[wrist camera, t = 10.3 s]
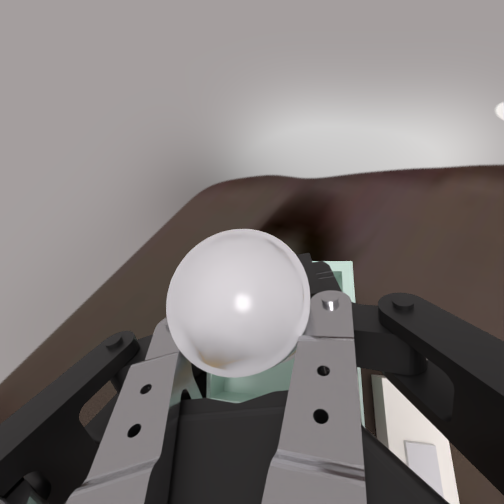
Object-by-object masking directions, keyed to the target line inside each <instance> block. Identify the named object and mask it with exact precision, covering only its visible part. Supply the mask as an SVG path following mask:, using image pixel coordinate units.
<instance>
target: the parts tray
mask: <svg viewBox="0 0 504 504" xmlns="http://www.w3.org/2000/svg"><path fill="white" fill-rule="evenodd" d="M312 262H318V261H312ZM323 262H325V263H327V264H328V265H329V266H330V268H331V270H332V272H333V274H334V277H335V278H336V280H337V282H338V284H339V286H340V289H341V291H342V292H343V293H345V294H347V295H348V296H349V297H350V299H351V302H354V303H355V291H354V278H353V265H352V261H323ZM294 359H295V358H293V359H291V360H289V361H287V362H283V363H280V364H278V365H277V366H274V367H272V368H270V369H268V370H265V371H263V372H260V373H258V374H254V375H251V376H246V377H238V378H233V377H222V376H217V375H214V374H211V399H215V400H221V401H226V402H232V403H241V402H244V401H247V400H250V399H253V398H256V397H259V396H262V395H265V394H268V393H271V392H274V391H284V390H289V386H290V381H291V375H292V370H293V364H294ZM357 371H358V383H359V395H360V407H361V419H362V426H364V427H365V422H364V409H363V396H362V383H361V370H360V367H357Z"/></svg>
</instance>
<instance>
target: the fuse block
mask: <svg viewBox="0 0 504 504" xmlns="http://www.w3.org/2000/svg"><path fill="white" fill-rule="evenodd" d="M371 378H372V389H373V400H374V411H375V423H376V434H377V439H378V440H379V441H380V442H381V443H383V444H384V445H385V446H386V447H387V448H388V449H389V450H390V451H391V452H393V453H394V454H395V455H396V456H397V457H398V458H399V459H400V460H401V461H403V462H404V463H405V464H406V465H407V466H408V467H409V468H410V469H412V470H413V471H414V472H415V473H416V474H417V475H418V476H419V477H420V478H422V479H423V480H424V481H425V482H426V483H427V484H428V485H429V486H431V487H432V488H433V489H434V490H435V491H436V492H437V493H438V494H439V495H441V496H442V497H443V498H444V499H445V500H446V501H447V502H448V503H450V504H459V498H458V492H457V487H456V481H455V475H454V469H453V464H452V458H451V452H450V446H449V440H448V439H447V438H446V437H445V436H444V435H443V434H442V433H441V432H440V431H439V430H438V429H437V428H436V427H435V426H434V425H433V424H432V423H431V422H430V421H429V420H428V419H427V418H426V417H425V416H424V415H423V414H422V413H421V412H420V411H419V410H418V409H417V408H416V407H415V406H414V405H413V404H412V403H411V402H410V401H409V400H408V399H407V398H406V397H405V396H404V395H403V394H402V393H401V392H400V391H399V390H398V389H397V388H396V387H395V386H394V385H393V384H392V383H391V382H390V381H389V380H388V379H387V378H386V377H385V376H383V375H372V374H371Z"/></svg>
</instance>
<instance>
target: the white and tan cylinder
mask: <svg viewBox="0 0 504 504" xmlns="http://www.w3.org/2000/svg"><path fill="white" fill-rule="evenodd" d="M166 313H167V322H168V326H169V330H170V333H171V335H172V338H173V340H174V342H175V343H176V345H177V347H178V349H179V350H180V351H181V352H182V354H183V355H184V356H185V357H186V358H187V359H188V360H189V361H190V362H191V363H193V364H194V365H195V366H197V367H198V368H200V369H202V370H204V371H206V372H208V373H211V374H214V375H217V376H222V377H233V378H238V377H246V376H251V375H254V374H258V373H260V372H263V371H265V370H268V369H270V368H272V367H274V366H277V365H278V364H280V363H283V362H287V361H289V360H291V359H293V358H295V354H296V348H297V343H298V338H299V336H301V335H305V330H306V327H307V324H308V320H309V315H310V288H309V283H308V278H307V275H306V273H305V270H304V268H303V266H302V264H301V262H300V260H299V259H298V257H297V256H296V255H295V253H294V252H293V251H292V250H291V249H290V248H289V247H288V246H287V245H286V244H285V243H283V242H282V241H281V240H279V239H277V238H276V237H274V236H272V235H270V234H267V233H265V232H261V231H258V230H251V229H234V230H228V231H224V232H221V233H218V234H215V235H213V236H211V237H209V238H207V239H205V240H204V241H202V242H201V243H199V244H198V245H197V246H195V247H194V248H193V249H192V250H191V251H190V252H189V253H188V254H187V255H186V256H185V258H184V259H183V260H182V261H181V263H180V264H179V266H178V268H177V269H176V271H175V273H174V275H173V277H172V280H171V283H170V286H169V290H168V294H167V302H166Z"/></svg>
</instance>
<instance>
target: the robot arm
mask: <svg viewBox="0 0 504 504" xmlns="http://www.w3.org/2000/svg"><path fill="white" fill-rule="evenodd" d="M296 256H297V257H298V259H299V260H300V262H301V264H302V266H303V268H304V270H305V273H306V275H307V278H308V283H309V288H310V315H309V320H308V324H307V327H306V330H305V335H301V336H299V338H298V343H297V348H296V354H295V359H294V364H293V370H292V375H291V381H290V386H289V390H284V391H274V392H271V393H268V394H265V395H262V396H259V397H256V398H253V399H250V400H247V401H244V402H241V403H232V402H226V401H221V400H215V399H211V373H208V372H206V371H204V370H202V369H200V368H198V367H197V366H195V365H194V364H193V363H191V362H190V361H189V360H188V359H187V358H186V357H185V356H184V355H183V354H182V352H181V351H180V350H179V349H178V347H177V345H176V343H175V342H174V340H173V338H172V335H171V333H170V330H169V326H168V322H167V317H166V318H165V319H163V320H162V321H161V322H159V324H158V325H157V326H156V328H155V331H154V334H153V335H150V336H147V337H144V338H141V339H138V340H137V339H136V337H135V335H134V333H133V332H131V331H123V332H119V333H116V334H114V335H112V336H110V337H109V338H107V339H106V340H104V341H103V342H102V343H101V344H99V345H98V346H97V347H96V348H94V349H93V350H92V351H91V352H89V353H88V354H87V355H86V356H84V357H83V358H82V359H81V360H79V361H78V362H77V363H76V364H74V365H73V366H72V367H71V368H70V369H68V370H67V371H66V372H65V373H63V374H62V375H61V376H60V377H58V378H57V379H56V380H55V381H53V382H52V383H51V384H50V385H48V386H47V387H46V388H45V389H43V390H42V391H41V392H40V393H38V394H37V395H36V396H35V397H34V398H32V399H31V400H30V401H29V402H27V403H26V404H25V405H24V406H22V407H21V408H20V409H19V410H17V411H16V412H15V413H14V414H12V415H11V416H10V417H9V418H7V419H6V420H5V421H4V422H2V423H1V424H0V504H450V503H448V502H447V501H446V500H445V499H444V498H443V497H442V496H441V495H439V494H438V493H437V492H436V491H435V490H434V489H433V488H432V487H431V486H429V485H428V484H427V483H426V482H425V481H424V480H423V479H422V478H420V477H419V476H418V475H417V474H416V473H415V472H414V471H413V470H412V469H410V468H409V467H408V466H407V465H406V464H405V463H404V462H403V461H401V460H400V459H399V458H398V457H397V456H396V455H395V454H394V453H393V452H391V451H390V450H389V449H388V448H387V447H386V446H385V445H384V444H383V443H381V442H380V441H379V440H378V439H377V438H376V437H375V436H374V435H372V434H371V433H370V432H369V431H368V430H367V429H366V428H365V427H364V426H362V419H361V407H360V395H359V383H358V371H357V367H360V368H366V369H372V370H378V371H382V373H383V375H384V376H385V377H386V378H387V379H388V380H389V381H390V382H391V383H392V384H393V385H394V386H395V387H396V388H397V389H398V390H399V391H400V392H401V393H402V394H403V395H404V396H405V397H406V398H407V399H408V400H409V401H410V402H411V403H412V404H413V405H414V406H415V407H416V408H417V409H418V410H419V411H420V412H421V413H422V414H423V415H424V416H425V417H426V418H427V419H428V420H429V421H430V422H431V423H432V424H433V425H434V426H435V427H436V428H437V429H438V430H439V431H440V432H441V433H442V434H443V435H444V436H445V437H446V438H447V439H448V440H449V441H450V442H451V443H452V444H453V445H454V446H455V447H456V448H457V449H458V450H459V451H460V452H461V453H462V454H463V455H464V456H465V457H466V458H467V459H468V460H469V461H470V462H471V463H472V464H473V465H474V466H475V467H476V468H477V469H478V470H479V471H480V472H481V473H482V474H483V475H484V476H485V477H486V478H487V479H488V480H489V481H490V482H491V483H492V484H493V485H494V486H495V487H496V488H497V489H498V490H499V491H500V492H501V493H502V494H503V495H504V341H502V340H500V339H498V338H496V337H494V336H492V335H490V334H489V333H487V332H485V331H483V330H481V329H479V328H477V327H475V326H473V325H472V324H470V323H468V322H466V321H464V320H462V319H460V318H458V317H456V316H455V315H453V314H451V313H449V312H447V311H445V310H443V309H441V308H439V307H437V306H436V305H434V304H432V303H430V302H428V301H426V300H424V299H422V298H420V297H418V296H416V295H412V294H407V293H392V294H388V295H385V296H383V297H382V298H381V299H380V300H379V302H378V306H373V305H362V304H357V303H354V302H351V299H350V297H349V296H348V295H347V294H345V293H343V292H342V291H341V289H340V286H339V284H338V282H337V280H336V278H335V277H334V274H333V272H332V270H331V268H330V266H329V265H328V264H327V263H325V262H323V261H318V262H312V260H311V257H310V254H309V253H306V254H300V255H296ZM109 380H110V381H111V383H112V384H113V386H114V388H115V389H116V391H117V394H116V395H115V396H114V397H113V398H112V399H111V400H110V401H109V402H108V403H107V404H106V405H105V406H104V408H103V409H102V410H101V411H100V412H99V413H98V414H97V415H96V416H95V417H94V418H93V419H92V420H91V421H90V422H89V423H88V424H87V425H86V426H85V427H83V425H82V424H81V422H80V421H79V413H80V410H81V408H82V407H83V405H84V404H85V403H86V402H87V401H88V400H89V399H90V398H91V397H92V396H93V395H94V394H95V393H96V392H97V391H98V390H100V389H101V388H102V387H103V386H104V385H105V384H106V383H107V382H108V381H109ZM24 476H25V477H24ZM23 477H24V478H23Z"/></svg>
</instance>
